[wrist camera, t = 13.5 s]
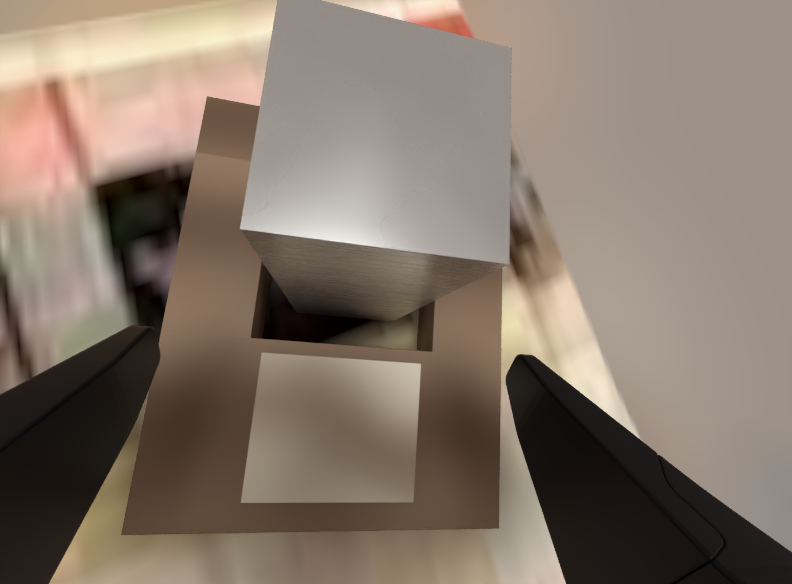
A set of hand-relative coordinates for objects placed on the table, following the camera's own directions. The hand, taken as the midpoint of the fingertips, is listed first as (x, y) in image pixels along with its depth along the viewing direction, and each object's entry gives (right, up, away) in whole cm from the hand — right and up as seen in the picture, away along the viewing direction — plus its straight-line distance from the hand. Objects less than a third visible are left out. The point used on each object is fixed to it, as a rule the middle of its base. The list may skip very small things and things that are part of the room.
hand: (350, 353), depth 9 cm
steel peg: (-1, +3, +8) cm, 8 cm away
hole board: (-1, +1, +7) cm, 8 cm away
